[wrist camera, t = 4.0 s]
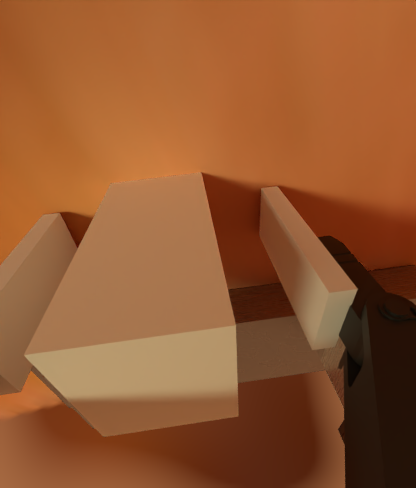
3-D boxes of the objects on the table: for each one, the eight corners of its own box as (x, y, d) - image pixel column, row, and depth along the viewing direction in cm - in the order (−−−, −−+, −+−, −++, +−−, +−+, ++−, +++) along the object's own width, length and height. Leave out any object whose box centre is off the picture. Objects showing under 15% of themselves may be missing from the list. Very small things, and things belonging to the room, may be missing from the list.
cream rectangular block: (111, 183, 11) (23, 355, 5) (201, 172, 11) (236, 325, 5) (141, 274, 14) (114, 447, 8) (210, 264, 15) (238, 428, 8)
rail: (80, 372, 20) (9, 606, 11) (35, 316, 15) (-129, 622, 7) (378, 329, 20) (520, 519, 12) (414, 265, 16) (667, 487, 8)
